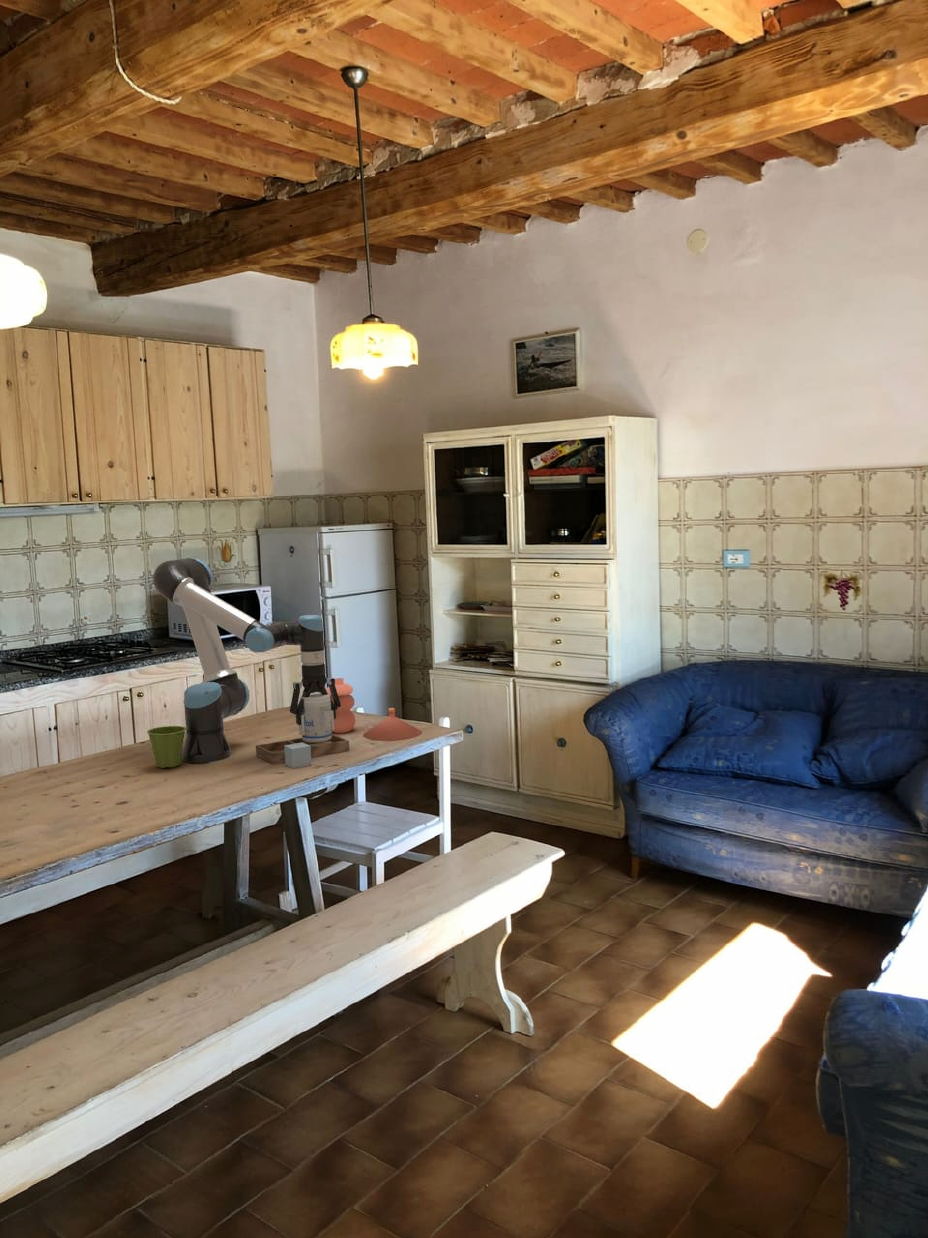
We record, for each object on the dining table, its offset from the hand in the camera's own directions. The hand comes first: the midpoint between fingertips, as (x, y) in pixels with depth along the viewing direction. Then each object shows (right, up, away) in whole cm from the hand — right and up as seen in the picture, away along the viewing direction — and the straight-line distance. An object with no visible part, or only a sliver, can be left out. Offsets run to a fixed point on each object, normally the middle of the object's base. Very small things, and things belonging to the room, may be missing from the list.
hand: (316, 732), depth 323 cm
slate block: (-3, -8, -16) cm, 19 cm away
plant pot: (-44, -9, -12) cm, 47 cm away
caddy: (-4, -6, -2) cm, 8 cm away
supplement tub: (0, -3, 0) cm, 3 cm away
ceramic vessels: (+16, -3, +23) cm, 28 cm away
